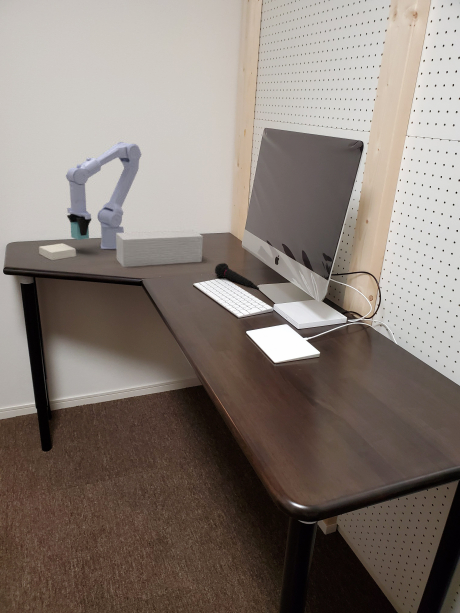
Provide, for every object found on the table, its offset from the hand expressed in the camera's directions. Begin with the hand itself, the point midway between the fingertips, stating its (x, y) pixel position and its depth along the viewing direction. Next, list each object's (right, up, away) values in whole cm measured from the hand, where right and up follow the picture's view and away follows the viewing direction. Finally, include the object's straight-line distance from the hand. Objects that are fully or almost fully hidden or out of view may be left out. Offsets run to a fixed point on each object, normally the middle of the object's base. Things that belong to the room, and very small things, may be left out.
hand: (80, 233), depth 185 cm
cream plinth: (-7, -9, -4) cm, 12 cm away
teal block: (0, -2, +1) cm, 2 cm away
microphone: (+62, -21, -20) cm, 69 cm away
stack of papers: (+32, -11, -1) cm, 34 cm away
